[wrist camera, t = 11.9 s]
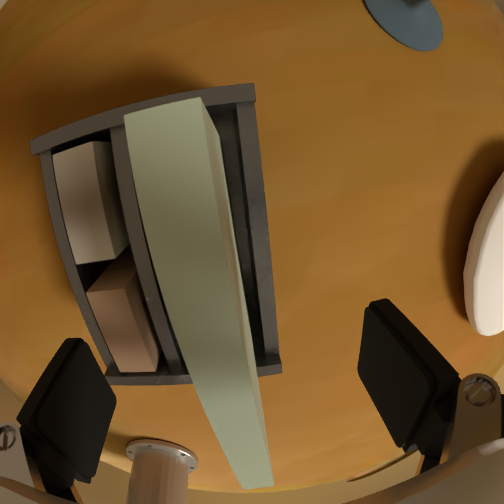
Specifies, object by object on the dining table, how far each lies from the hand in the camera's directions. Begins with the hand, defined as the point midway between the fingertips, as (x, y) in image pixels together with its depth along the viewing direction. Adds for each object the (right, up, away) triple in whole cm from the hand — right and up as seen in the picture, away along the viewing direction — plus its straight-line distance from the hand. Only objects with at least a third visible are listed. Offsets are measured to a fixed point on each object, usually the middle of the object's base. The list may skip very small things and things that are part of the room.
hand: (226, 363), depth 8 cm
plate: (+39, +4, +21) cm, 45 cm away
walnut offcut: (-9, +1, +16) cm, 19 cm away
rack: (-5, +6, +16) cm, 18 cm away
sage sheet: (-1, +6, +15) cm, 16 cm away
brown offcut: (-10, +9, +13) cm, 19 cm away
